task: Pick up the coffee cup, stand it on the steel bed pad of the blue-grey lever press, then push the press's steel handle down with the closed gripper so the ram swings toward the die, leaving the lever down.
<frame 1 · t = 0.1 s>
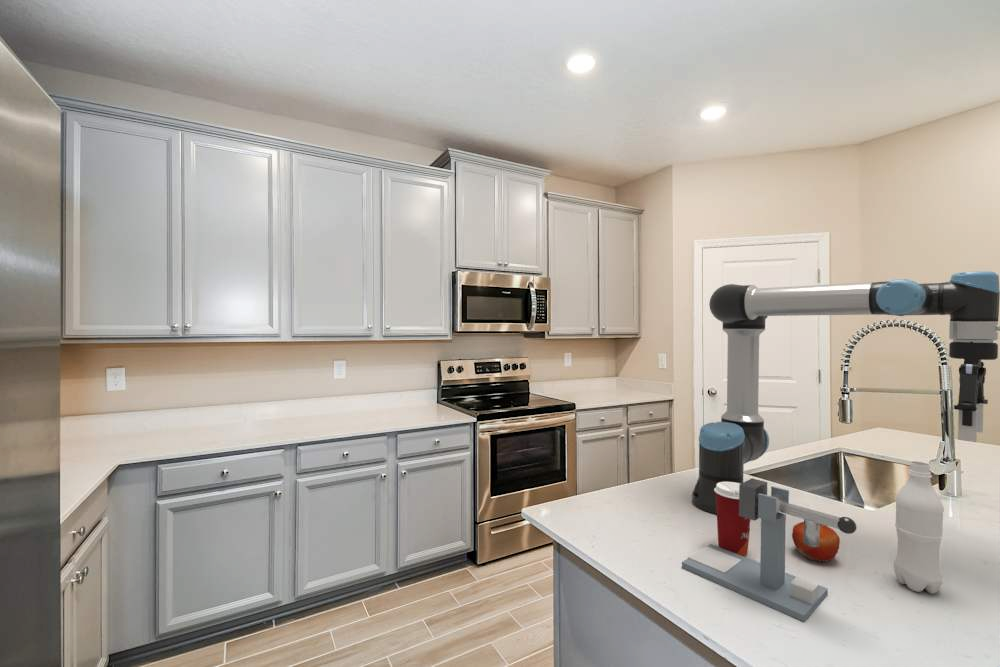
hand: (970, 436, 101), 28 cm above the countertop, fingers open, 13 cm apart
coffee cup: (732, 551, 106), on the countertop
water bottle: (917, 587, 91), on the countertop
lever: (796, 516, 87), point 16 cm above the countertop, hinge at 0.0°
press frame: (750, 580, 93), on the countertop
tomato: (815, 557, 103), on the countertop
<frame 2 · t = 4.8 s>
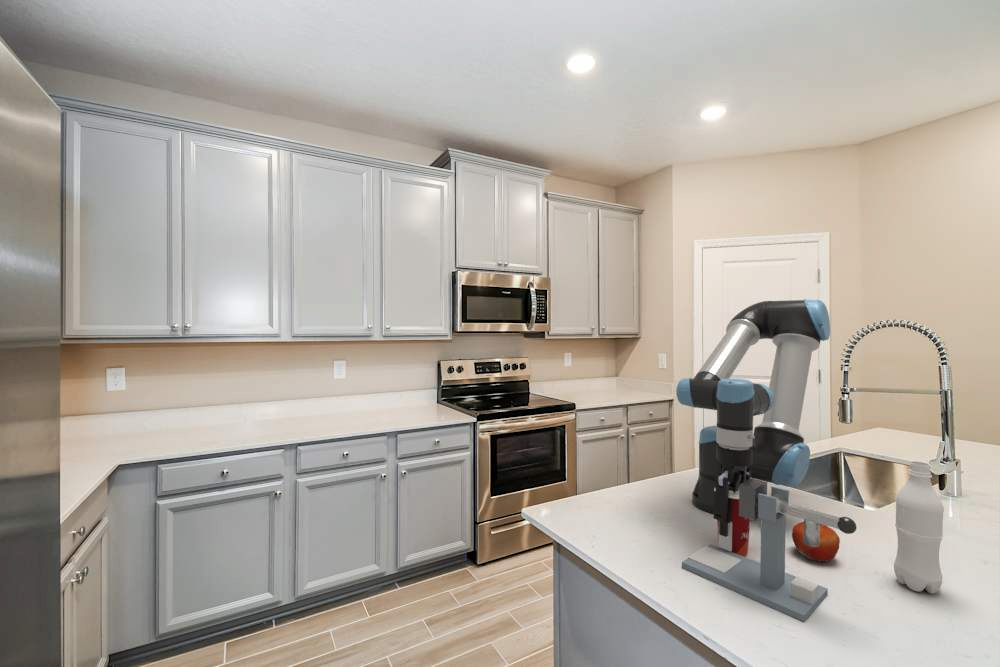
hand: (732, 543, 106), 2 cm above the countertop, fingers closed on coffee cup, 7 cm apart
coffee cup: (732, 551, 106), on the countertop, touching gripper
everything else where it was.
when the fingers open (5 cm above the countertop, at t = 9.7 s): coffee cup drops 1 cm, resting on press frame.
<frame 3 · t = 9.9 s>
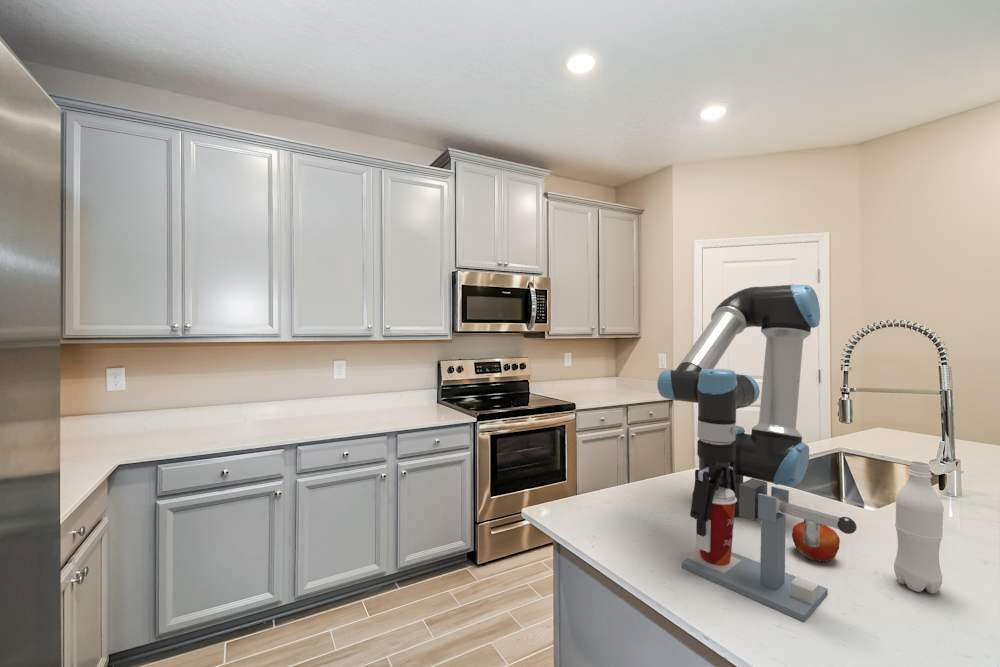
hand: (714, 541, 99), 5 cm above the countertop, fingers open, 10 cm apart
coffee cup: (714, 558, 99), point 1 cm above the countertop, touching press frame
everything else where it was.
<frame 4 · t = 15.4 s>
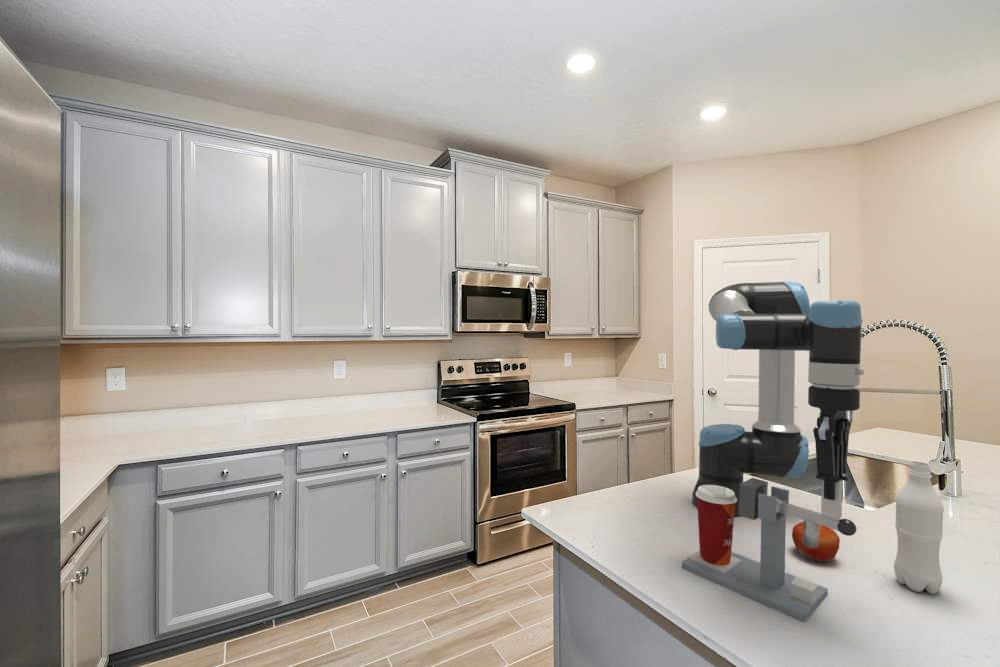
hand: (831, 515, 82), 18 cm above the countertop, fingers closed
lever: (796, 517, 87), point 16 cm above the countertop, hinge at 1.7°, touching gripper
everything else where it was.
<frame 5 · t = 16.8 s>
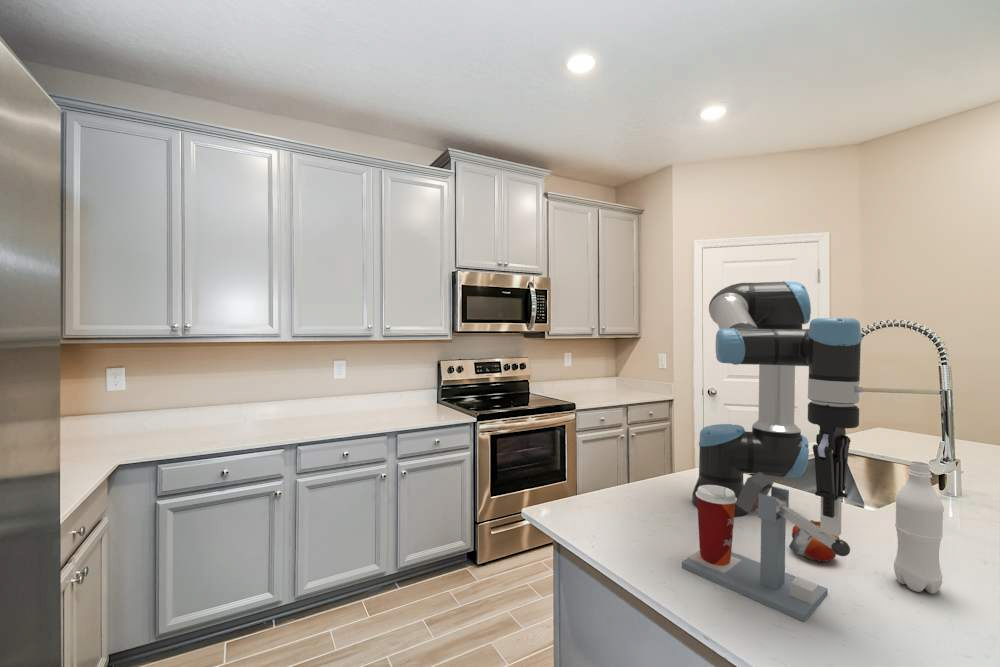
hand: (830, 532, 82), 15 cm above the countertop, fingers closed
lever: (792, 522, 87), point 15 cm above the countertop, hinge at 21.7°, touching gripper, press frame
everything else where it was.
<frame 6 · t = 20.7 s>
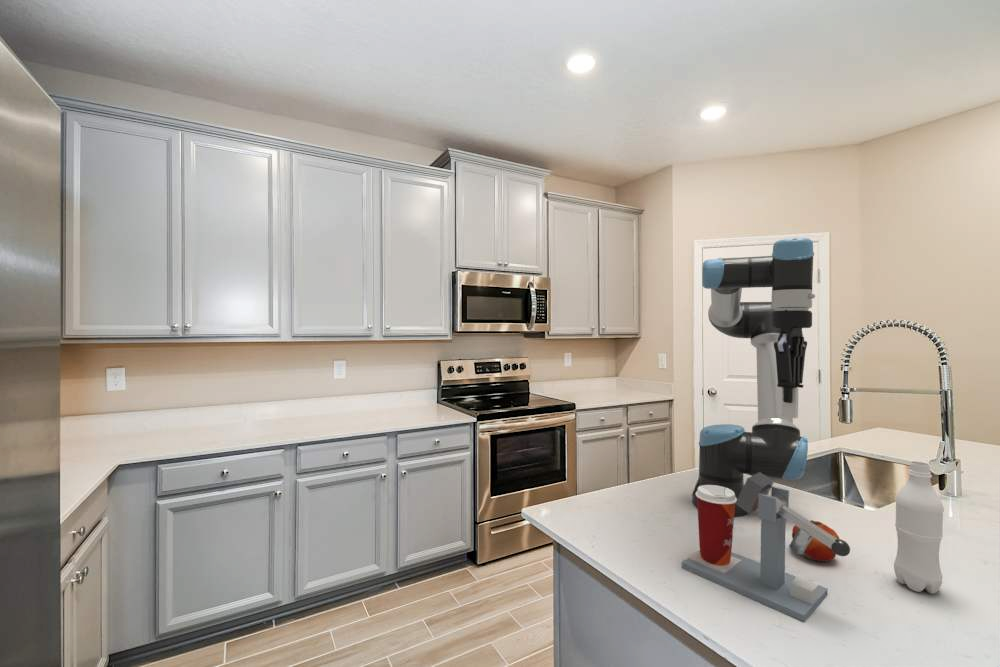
hand: (789, 416, 100), 32 cm above the countertop, fingers closed
lever: (792, 522, 87), point 15 cm above the countertop, hinge at 21.7°, touching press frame
everything else where it was.
at the end: coffee cup inside the target area on the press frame (0.2 cm from its centre), point 1.3 cm above the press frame's base; coffee cup tilted 0°; lever at +22° (first picture: +0°) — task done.
